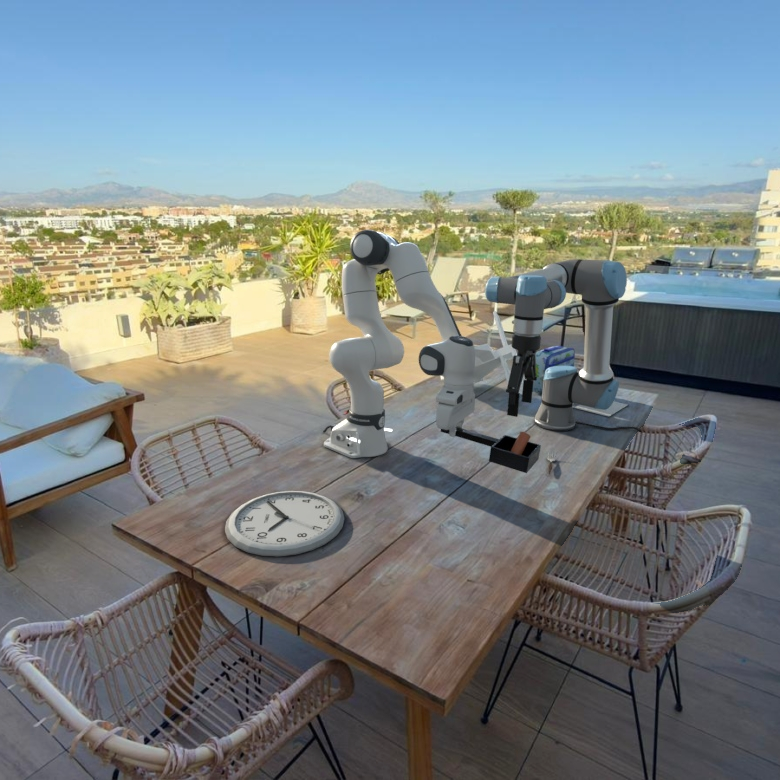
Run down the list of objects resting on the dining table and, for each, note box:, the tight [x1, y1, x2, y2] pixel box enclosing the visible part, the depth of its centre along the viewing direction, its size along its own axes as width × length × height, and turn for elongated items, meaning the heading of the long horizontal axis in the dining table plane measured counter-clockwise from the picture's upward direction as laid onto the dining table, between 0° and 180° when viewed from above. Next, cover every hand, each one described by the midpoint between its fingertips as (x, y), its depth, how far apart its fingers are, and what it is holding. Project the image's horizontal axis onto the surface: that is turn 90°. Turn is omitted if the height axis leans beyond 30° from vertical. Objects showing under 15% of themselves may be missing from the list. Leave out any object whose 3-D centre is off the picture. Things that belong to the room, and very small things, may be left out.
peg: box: [510, 431, 531, 455], centre depth 152 cm, size 3×3×7 cm
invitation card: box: [573, 400, 629, 418], centre depth 226 cm, size 21×1×15 cm
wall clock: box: [224, 490, 345, 557], centre depth 134 cm, size 30×2×30 cm
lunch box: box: [532, 345, 576, 394], centre depth 244 cm, size 26×11×21 cm, turn 135°
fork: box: [547, 449, 557, 475], centre depth 169 cm, size 3×16×2 cm, turn 160°
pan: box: [440, 427, 542, 474], centre depth 156 cm, size 29×11×5 cm, turn 58°
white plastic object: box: [440, 310, 526, 390], centre depth 245 cm, size 37×45×31 cm
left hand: (455, 434), depth 160 cm, fingers closed on pan, 2 cm apart
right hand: (519, 408), depth 147 cm, fingers open, 13 cm apart
